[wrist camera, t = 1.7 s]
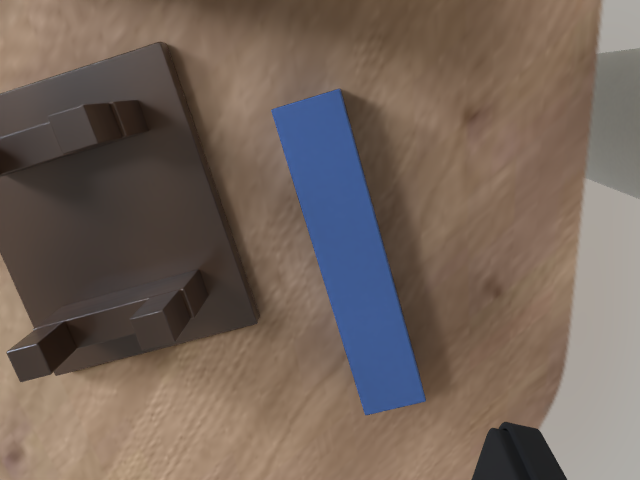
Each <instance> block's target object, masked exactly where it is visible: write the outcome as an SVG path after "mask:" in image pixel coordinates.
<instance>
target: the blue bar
mask: <svg viewBox="0 0 640 480" xmlns="http://www.w3.org/2000/svg"><path fill="white" fill-rule="evenodd" d="M271 111H272V115H273V118H274V121H275V124H276V128H277V131H278V134H279V137H280V141H281V144H282V147H283V150H284V154H285V157H286V160H287V163H288V166H289V170H290V173H291V176H292V179H293V183H294V186H295V189H296V192H297V196H298V199H299V202H300V205H301V209H302V212H303V215H304V218H305V222H306V225H307V228H308V231H309V235H310V238H311V241H312V244H313V248H314V251H315V254H316V257H317V260H318V264H319V267H320V270H321V273H322V277H323V280H324V283H325V286H326V290H327V293H328V296H329V299H330V303H331V306H332V309H333V312H334V316H335V319H336V322H337V325H338V329H339V332H340V335H341V338H342V342H343V345H344V348H345V351H346V355H347V358H348V361H349V364H350V367H351V371H352V374H353V377H354V380H355V384H356V387H357V390H358V393H359V397H360V400H361V403H362V406H363V410H364V413H365V415H370V414H374V413H378V412H382V411H387V410H391V409H395V408H400V407H404V406H408V405H412V404H417V403H421V402H425V401H426V398H425V394H424V390H423V386H422V382H421V378H420V374H419V371H418V367H417V363H416V360H415V356H414V352H413V349H412V345H411V342H410V338H409V334H408V331H407V327H406V324H405V320H404V316H403V313H402V309H401V306H400V302H399V298H398V295H397V291H396V287H395V284H394V280H393V277H392V273H391V269H390V266H389V262H388V259H387V255H386V251H385V248H384V244H383V240H382V237H381V233H380V230H379V226H378V222H377V219H376V215H375V212H374V208H373V204H372V201H371V197H370V194H369V190H368V186H367V183H366V179H365V175H364V172H363V168H362V165H361V161H360V157H359V154H358V150H357V147H356V143H355V139H354V136H353V132H352V129H351V125H350V121H349V118H348V114H347V110H346V107H345V103H344V100H343V96H342V92H341V89H337V90H333V91H330V92H327V93H324V94H320V95H317V96H314V97H310V98H307V99H304V100H301V101H297V102H294V103H291V104H287V105H284V106H281V107H278V108H275V109H272V110H271Z"/></svg>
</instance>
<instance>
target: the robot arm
mask: <svg viewBox="0 0 640 480" xmlns="http://www.w3.org/2000/svg"><path fill="white" fill-rule="evenodd" d="M472 480H567V478H566V477H565V475H564V473H563V471H562V469H561V468H560V466H559V464H558V462H557V461H556V459H555V457H554V455H553V454H552V452H551V450H550V448H549V446H548V444H547V443H546V441H545V439H544V437H543V435H542V434H541V432H540V431H539V430H538V429H535V428H531V427H526V426H522V425H517V424H513V423H508V422H504V423H502V424H501V426H500V427H499V429H496V428H491V429H490V430H489V432H488V434H487V436H486V439H485V442H484V445H483V448H482V451H481V454H480V457H479V460H478V463H477V466H476V469H475V472H474V475H473V478H472Z"/></svg>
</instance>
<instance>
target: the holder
mask: <svg viewBox="0 0 640 480" xmlns="http://www.w3.org/2000/svg"><path fill="white" fill-rule="evenodd" d="M0 253H1V255H2V257H3V260H4V262H5V264H6V266H7V269H8V271H9V273H10V275H11V278H12V280H13V282H14V284H15V286H16V289H17V291H18V293H19V295H20V298H21V300H22V302H23V304H24V306H25V309H26V311H27V313H28V315H29V318H30V320H31V322H32V324H33V327H34V329H33V332H31V333H30V334H29V335H27V336H26V337H25V338H24V339H22V340H21V341H20V342H19V343H17V344H16V345H15V346H13V347H12V348H11V349H10V350H8V351H7V355H8V357H9V359H10V361H11V363H12V366H13V368H14V370H15V372H16V374H17V376H18V378H19V381H20V382H24V381H28V380H31V379H35V378H39V377H43V376H47V375H51V374H52V373H53V372H54V373H55V375H56V376H58V375H61V374H65V373H69V372H73V371H77V370H81V369H85V368H88V367H92V366H96V365H100V364H104V363H108V362H112V361H115V360H119V359H123V358H127V357H131V356H135V355H139V354H142V353H146V352H150V351H154V350H158V349H162V348H165V347H169V346H173V345H177V344H181V343H185V342H189V341H192V340H196V339H200V338H204V337H208V336H212V335H216V334H219V333H223V332H227V331H231V330H235V329H239V328H243V327H246V326H250V325H254V324H257V323H258V320H259V318H260V315H259V312H258V309H257V307H256V304H255V301H254V298H253V295H252V292H251V289H250V286H249V283H248V280H247V277H246V274H245V272H244V269H243V266H242V263H241V260H240V257H239V254H238V251H237V248H236V245H235V242H234V239H233V237H232V234H231V231H230V228H229V225H228V222H227V219H226V216H225V213H224V210H223V207H222V205H221V202H220V199H219V196H218V193H217V190H216V187H215V184H214V181H213V178H212V175H211V172H210V170H209V167H208V164H207V161H206V158H205V155H204V152H203V149H202V146H201V143H200V140H199V137H198V135H197V132H196V129H195V126H194V123H193V120H192V117H191V114H190V111H189V108H188V105H187V102H186V100H185V97H184V94H183V91H182V88H181V85H180V82H179V79H178V76H177V73H176V70H175V67H174V65H173V62H172V59H171V56H170V53H169V50H168V47H167V44H166V43H162V42H157V43H154V44H151V45H148V46H145V47H142V48H139V49H136V50H133V51H130V52H127V53H124V54H121V55H118V56H114V57H111V58H108V59H105V60H102V61H99V62H96V63H93V64H90V65H87V66H84V67H81V68H78V69H75V70H72V71H69V72H65V73H62V74H59V75H56V76H53V77H50V78H47V79H44V80H41V81H38V82H35V83H32V84H29V85H26V86H23V87H19V88H16V89H13V90H10V91H7V92H4V93H1V94H0Z"/></svg>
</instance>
